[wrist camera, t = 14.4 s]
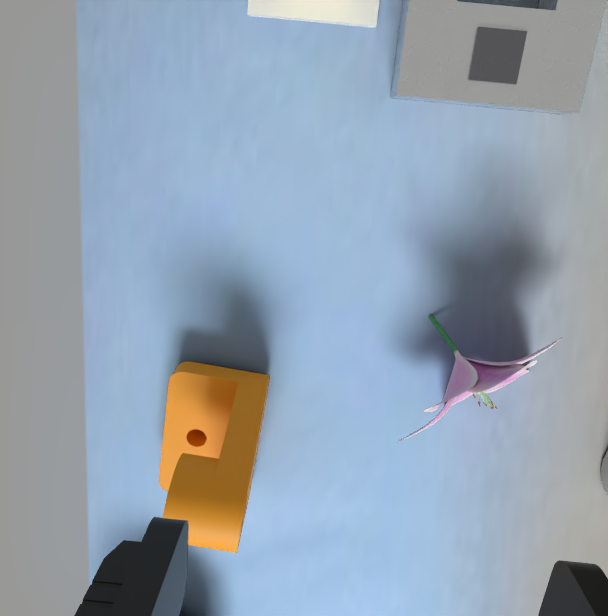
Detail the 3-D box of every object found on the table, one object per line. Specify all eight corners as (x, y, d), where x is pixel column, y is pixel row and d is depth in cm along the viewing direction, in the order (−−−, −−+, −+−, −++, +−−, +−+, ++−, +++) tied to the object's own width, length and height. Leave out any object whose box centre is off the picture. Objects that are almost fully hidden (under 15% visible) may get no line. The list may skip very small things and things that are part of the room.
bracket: (179, 354, 41) (124, 441, 29) (271, 370, 41) (251, 463, 29) (167, 469, 44) (113, 586, 33) (251, 483, 44) (227, 605, 33)
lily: (361, 399, 42) (418, 503, 36) (361, 288, 35) (435, 394, 28) (488, 357, 45) (565, 446, 38) (516, 245, 37) (619, 331, 30)
